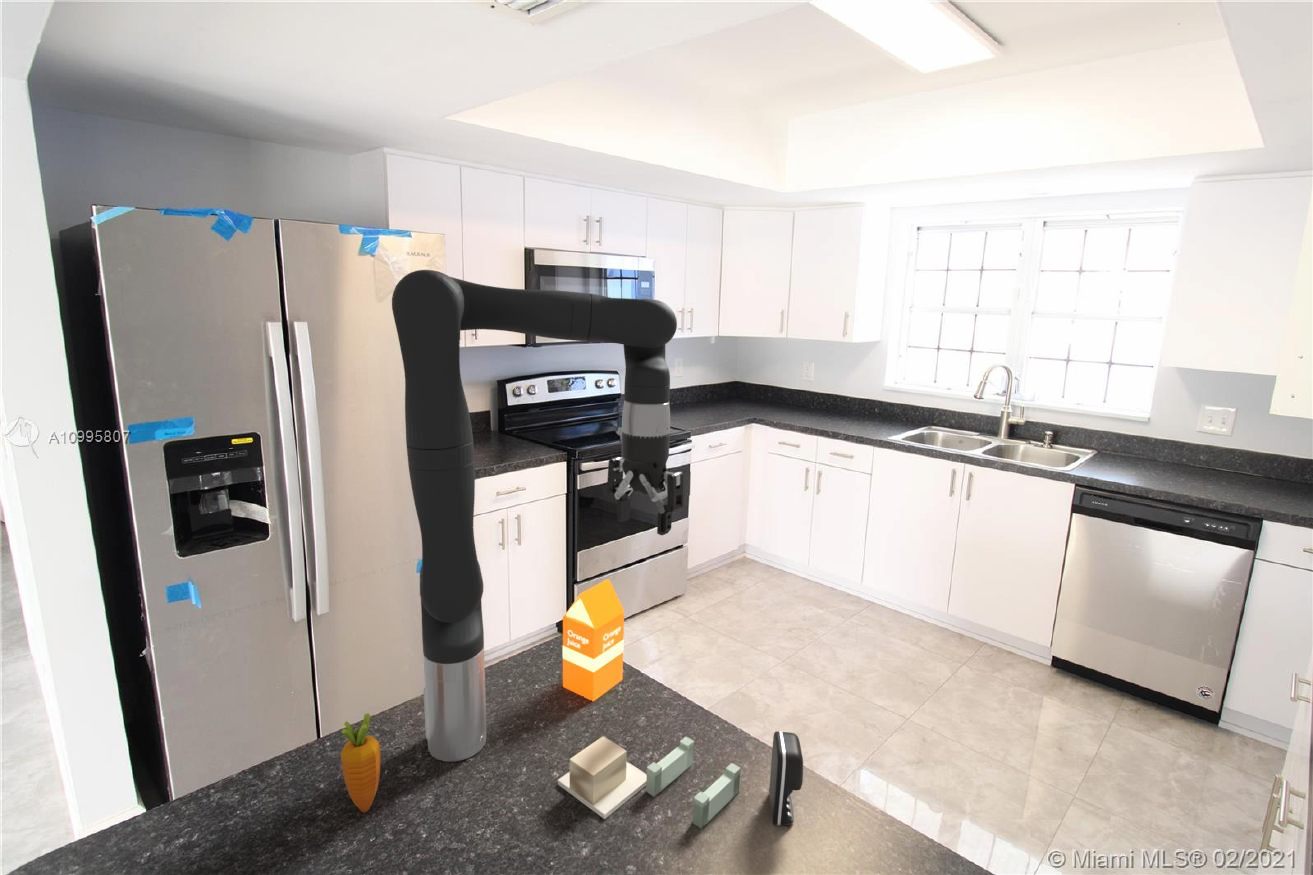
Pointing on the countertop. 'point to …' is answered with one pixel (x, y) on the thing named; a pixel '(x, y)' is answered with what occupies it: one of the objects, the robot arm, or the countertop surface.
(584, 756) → the block
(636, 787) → the plate
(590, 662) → the orange juice
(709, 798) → the rails
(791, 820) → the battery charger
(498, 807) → the countertop surface
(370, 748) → the carrot
